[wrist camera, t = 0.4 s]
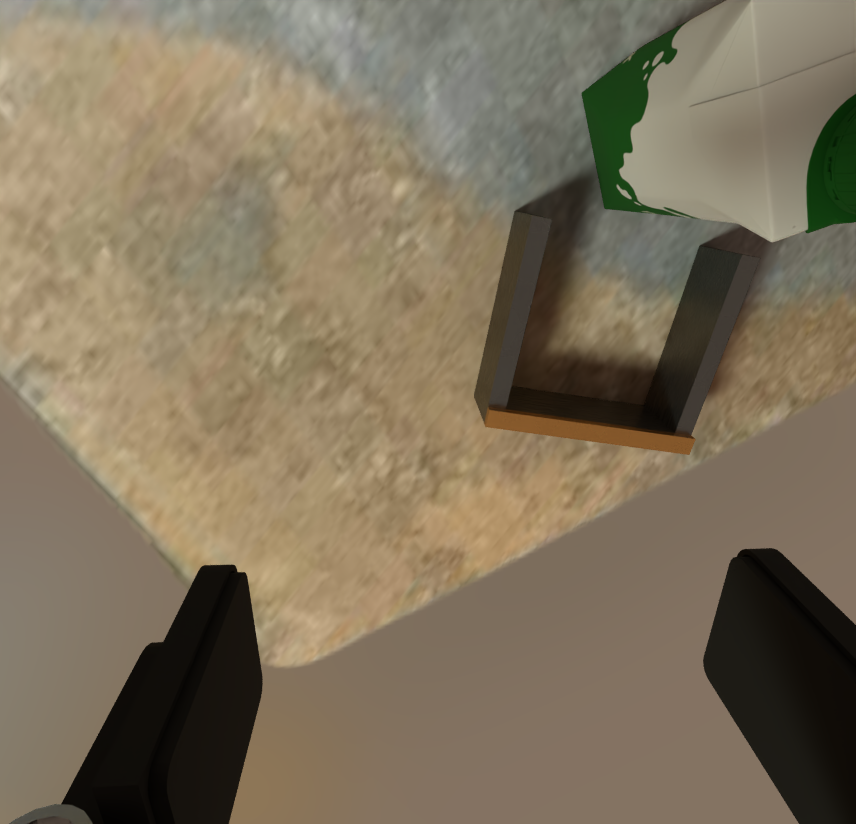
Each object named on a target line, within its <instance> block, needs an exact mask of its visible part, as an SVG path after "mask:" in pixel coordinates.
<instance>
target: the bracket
mask: <svg viewBox="0 0 856 824" xmlns="http://www.w3.org/2000/svg"><path fill="white" fill-rule="evenodd" d="M551 222H552V219H549V218H545V217H540V216H536V215H532V214H526V213H521V212H516V211H515V212H514V216H513V221H512V225H511V230H510V234H509V239H508V243H507V248H506V253H505V257H504V262H503V266H502V271H501V275H500V280H499V284H498V289H497V294H496V298H495V303H494V307H493V312H492V316H491V321H490V325H489V330H488V335H487V339H486V344H485V348H484V353H483V357H482V362H481V366H480V371H479V376H478V380H477V385H476V389H475V394H474V398H475V400H476V403H477V405H478V408H479V411H480V413H481V416H482V419H483V421H484V424H485V427H490V428H497V429H505V430H512V431H519V432H527V433H534V434H541V435H548V436H556V437H563V438H570V439H578V440H585V441H592V442H600V443H607V444H614V445H622V446H629V447H636V448H644V449H651V450H658V451H665V452H673V453H680V454H687V455H689V454H690V452H691V449H692V447H693V444H694V442H695V438H694V437H692V436H691V434H692V432H693V429H694V427H695V424H696V421H697V419H698V416H699V414H700V411H701V409H702V406H703V404H704V401H705V398H706V396H707V393H708V391H709V388H710V386H711V383H712V381H713V378H714V375H715V373H716V370H717V368H718V365H719V363H720V360H721V357H722V355H723V352H724V350H725V347H726V345H727V342H728V340H729V337H730V334H731V332H732V329H733V327H734V324H735V322H736V319H737V317H738V314H739V311H740V309H741V306H742V304H743V301H744V299H745V296H746V294H747V291H748V288H749V286H750V283H751V281H752V278H753V276H754V273H755V270H756V268H757V265H758V263H759V260H760V258H758V257H753V256H748V255H743V254H738V253H733V252H729V251H724V250H719V249H714V248H709V247H703V246H699V249H698V252H697V255H696V258H695V260H694V263H693V266H692V269H691V272H690V275H689V278H688V281H687V283H686V286H685V289H684V292H683V295H682V298H681V301H680V304H679V307H678V309H677V312H676V315H675V318H674V321H673V324H672V327H671V330H670V332H669V335H668V338H667V341H666V344H665V347H664V350H663V353H662V355H661V358H660V361H659V364H658V367H657V370H656V373H655V376H654V378H653V381H652V384H651V387H650V390H649V393H648V396H647V399H646V402H645V404H644V406H643V405H636V404H629V403H622V402H616V401H609V400H602V399H595V398H588V397H582V396H575V395H568V394H561V393H554V392H547V391H541V390H534V389H527V388H520V387H513V386H512V381H513V377H514V373H515V369H516V365H517V361H518V357H519V353H520V349H521V345H522V341H523V337H524V333H525V328H526V324H527V320H528V316H529V312H530V308H531V304H532V300H533V296H534V292H535V288H536V284H537V280H538V275H539V271H540V267H541V263H542V259H543V255H544V251H545V247H546V243H547V239H548V235H549V231H550V227H551Z"/></svg>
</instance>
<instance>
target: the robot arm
mask: <svg viewBox="0 0 856 824" xmlns="http://www.w3.org/2000/svg"><path fill="white" fill-rule="evenodd" d="M703 663H704V670H705V673H706V675H707V678H708V679H709V681H710V683H711V684H712V686H713V688H714V689H715V691H716V692H717V694H718V695H719V697H720V699H721V700H722V702H723V703H724V705H725V707H726V708H727V710H728V711H729V713H730V715H731V716H732V718H733V719H734V721H735V723H736V724H737V726H738V727H739V729H740V730H741V732H742V734H743V735H744V737H745V738H746V740H747V741H748V743H749V745H750V746H751V748H752V750H753V751H754V753H755V754H756V756H757V757H758V759H759V761H760V762H761V764H762V765H763V767H764V769H765V770H766V772H767V773H768V775H769V777H770V778H771V780H772V781H773V783H774V785H775V786H776V788H777V789H778V791H779V793H780V794H781V796H782V797H783V799H784V800H785V802H786V804H787V805H788V807H789V808H790V810H791V811H792V813H793V815H794V816H795V818H796V819H797V821H798V823H799V824H856V625H855V624H854V623H853V622H852V621H851V620H850V619H849V618H848V617H847V616H846V615H845V614H844V613H843V612H842V611H841V610H840V609H839V608H838V607H836V606H835V605H834V604H833V603H832V602H831V601H830V600H829V599H828V598H827V597H826V596H825V595H824V594H823V593H822V592H821V591H820V590H819V589H818V588H817V587H816V586H815V585H814V584H812V582H811V581H810V580H809V579H808V578H807V577H805V576H804V575H803V574H802V573H801V572H800V571H799V570H798V569H797V568H796V567H795V566H794V565H793V564H792V563H791V562H790V561H789V560H788V559H787V558H786V557H784V555H783V554H782V553H780V552H779V551H778V550H776V549H772V548H769V549H768V548H766V549H744V550H741V551H740V552H739V553H738V555H737V557H735V558H733V559H732V560H731V562H730V564H729V568H728V571H727V575H726V579H725V583H724V586H723V589H722V593H721V597H720V600H719V604H718V607H717V611H716V615H715V618H714V622H713V626H712V629H711V633H710V636H709V640H708V644H707V647H706V651H705V655H704V659H703ZM261 694H262V671H261V665H260V658H259V651H258V645H257V638H256V631H255V625H254V618H253V612H252V605H251V598H250V592H249V585H248V579H247V575H246V573H245V572H237V568H236V566H235V565H204V566H202V567H201V568H200V570H199V571H198V573H197V575H196V577H195V579H194V581H193V583H192V585H191V587H190V589H189V591H188V593H187V595H186V597H185V600H184V601H183V604H182V605H181V607H180V609H179V611H178V614H177V615H176V617H175V620H174V622H173V624H172V626H171V628H170V630H169V632H168V634H167V636H166V638H165V640H164V642H158V643H150V644H149V645H148V646H146V647H145V649H144V650H143V652H142V653H141V655H140V657H139V659H138V661H137V663H136V665H135V666H134V668H133V670H132V672H131V674H130V676H129V677H128V679H127V681H126V683H125V685H124V687H123V689H122V691H121V693H120V694H119V696H118V698H117V700H116V702H115V704H114V706H113V708H112V709H111V711H110V713H109V715H108V717H107V719H106V721H105V723H104V725H103V726H102V729H101V730H100V732H99V734H98V736H97V738H96V740H95V742H94V743H93V745H92V747H91V749H90V751H89V753H88V755H87V757H86V758H85V760H84V762H83V764H82V766H81V768H80V770H79V772H78V773H77V775H76V777H75V779H74V781H73V783H72V785H71V787H70V789H69V791H68V792H67V794H66V796H65V798H64V800H63V802H62V804H61V805H60V804H54V805H50V806H46V807H43V808H39V809H35V810H33V811H31V812H29V813H27V814H25V815H23V816H21V817H19V818H17V819H15V820H14V821H12V822H11V823H9V824H229V820H230V816H231V812H232V809H233V805H234V801H235V797H236V793H237V789H238V785H239V781H240V777H241V773H242V769H243V765H244V762H245V758H246V753H247V750H248V746H249V742H250V738H251V734H252V730H253V726H254V722H255V719H256V714H257V711H258V707H259V703H260V699H261Z"/></svg>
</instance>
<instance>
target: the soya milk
mask: <svg viewBox="0 0 856 824" xmlns="http://www.w3.org/2000/svg"><path fill="white" fill-rule="evenodd" d="M582 98H583V103H584V108H585V113H586V118H587V123H588V128H589V133H590V138H591V143H592V148H593V153H594V158H595V163H596V168H597V173H598V178H599V183H600V188H601V193H602V198H603V203H604V208H605V209H612V210H622V211H631V212H641V213H651V214H661V215H671V216H679V217H688V218H696V219H705V220H713V221H722V222H730V223H738V224H739V225H741V226H743V227H745V228H747V229H748V230H750V231H752V232H754V233H756V234H757V235H759V236H761V237H763V238H765V239H766V240H768V241H770V242H775V241H778V240H781V239H784V238H787V237H789V236H792V235H795V234H797V233H800V232H803V231H806V233H810V232H813V231H816V230H819V229H822V228H824V227H827V226H830V225H833V224H842V223H853V222H856V0H726V1H724V2H722V3H720V4H718V5H716V6H715V7H713V8H711V9H709V10H707V11H706V12H704V13H702V14H700V15H698V16H696V17H695V18H693V19H691V20H689V21H687V22H685V23H684V24H682V25H680V26H678V27H676V28H674V29H673V30H671V31H669V32H667V33H665V34H664V35H662V36H660V37H658V38H656V39H654V40H653V41H651V42H649V43H647V44H646V45H644V46H642V47H641V48H639V49H638V50H637V51H635V52H634V53H633V54H631V55H630V56H629V57H628V58H626V59H625V60H624V61H622V62H621V63H620V64H619V65H617V66H616V67H615V68H613V69H612V70H611V71H610V72H608V73H607V74H606V75H604V76H603V77H602V78H601V79H599V80H598V81H597V82H595V83H594V84H593V85H591V86H590V87H589V88H588V89H586V90H585V91H584V92H582Z"/></svg>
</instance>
